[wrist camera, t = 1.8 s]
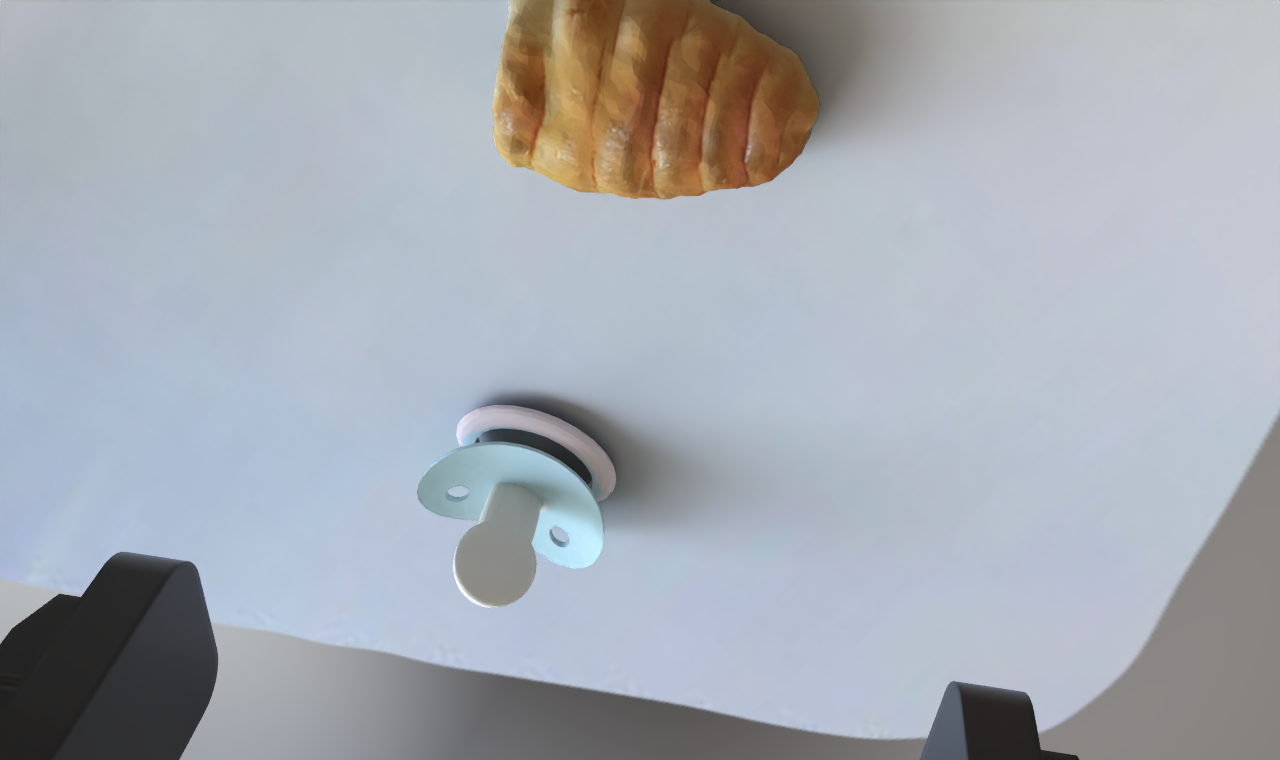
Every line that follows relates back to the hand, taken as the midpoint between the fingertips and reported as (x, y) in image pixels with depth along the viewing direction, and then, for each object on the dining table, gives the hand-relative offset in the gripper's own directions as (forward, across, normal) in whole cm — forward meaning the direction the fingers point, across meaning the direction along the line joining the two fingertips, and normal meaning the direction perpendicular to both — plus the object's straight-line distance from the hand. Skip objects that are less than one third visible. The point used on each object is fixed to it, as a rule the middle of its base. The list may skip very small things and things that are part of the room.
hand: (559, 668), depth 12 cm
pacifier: (+25, +5, +19) cm, 32 cm away
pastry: (+25, +2, +3) cm, 25 cm away
